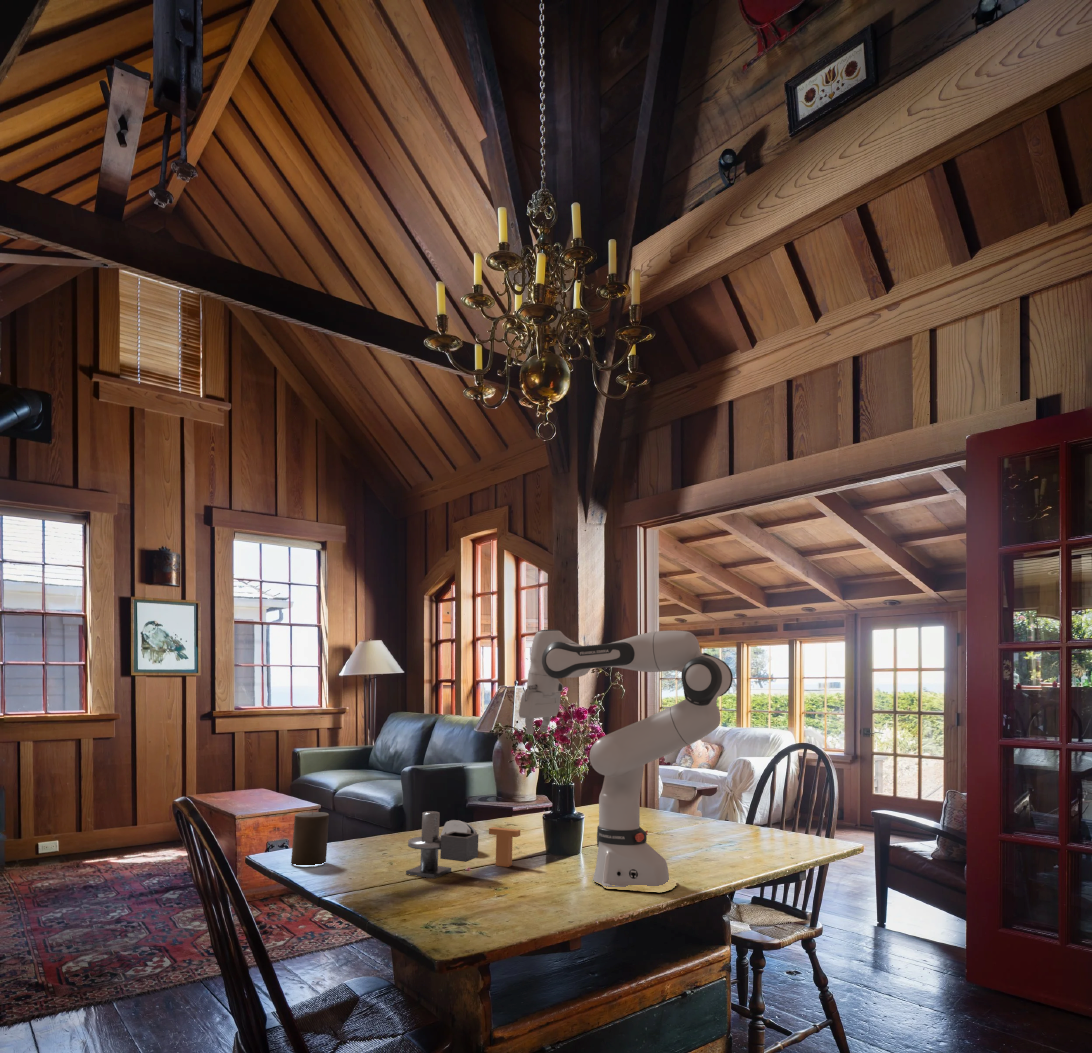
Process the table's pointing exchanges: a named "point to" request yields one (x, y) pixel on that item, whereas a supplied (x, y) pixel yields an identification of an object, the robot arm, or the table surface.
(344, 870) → the table surface
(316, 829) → the pillar candle
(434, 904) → the table surface
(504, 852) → the orange t-shaped block
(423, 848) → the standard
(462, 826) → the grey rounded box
